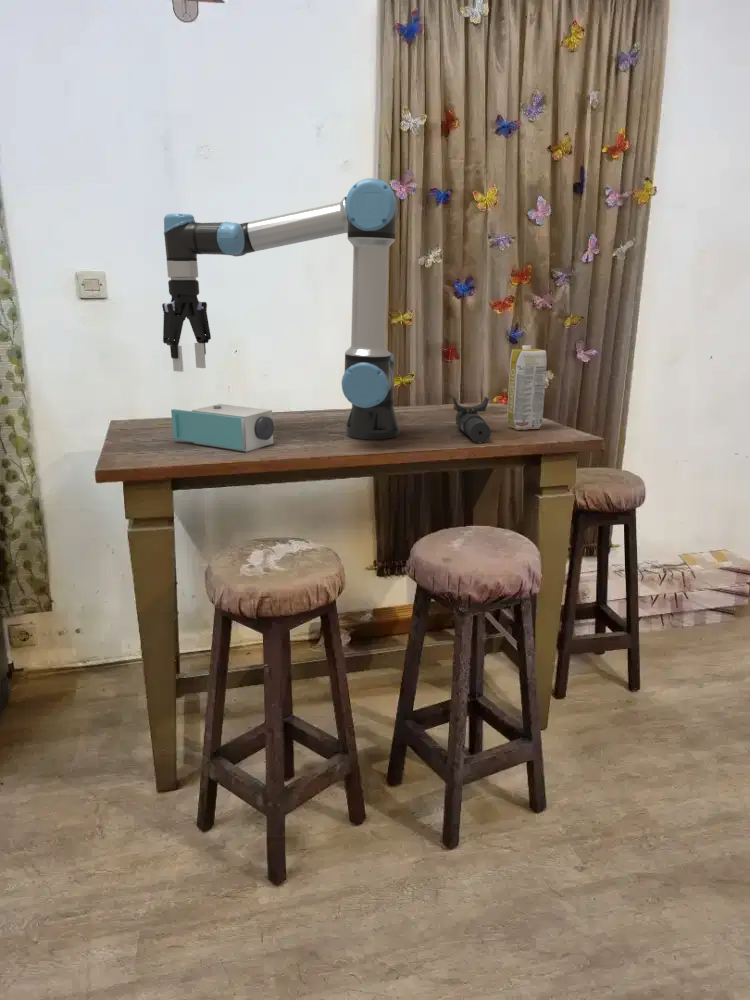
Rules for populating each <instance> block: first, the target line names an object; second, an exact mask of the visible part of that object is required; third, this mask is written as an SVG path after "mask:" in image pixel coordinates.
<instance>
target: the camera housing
mask: <svg viewBox="0 0 750 1000" xmlns="http://www.w3.org/2000/svg"><path fill="white" fill-rule="evenodd" d="M191 411H193V412H201V413H209V414H217V415H225V416H233V417H241V418H244V419H245V438H246V450H241V449H235V448H228V447H222V446H215V445H209V444H202V443H195V442H193V444H194V445H201V446H205V447H206V446H208V447H214V448H220V449H227V450H233V451H240V452H245V453H247V452H250V451H253V450H257V449H261V448H263V447H266V446H270V445H273V444H274V429H275V426H274V420H273V410H272V409H265V408H257V407H249V406H248V407H247V406H241V405H240V406H239V405H233V404H232V405H230V404H222V403H218V404H215V405H209V406H204V407H201V408H196V409H192V410H191Z"/></svg>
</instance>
